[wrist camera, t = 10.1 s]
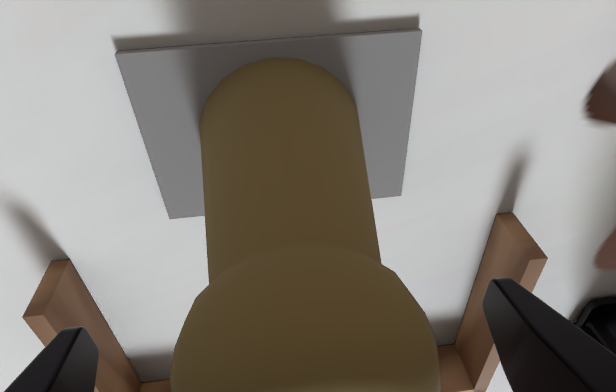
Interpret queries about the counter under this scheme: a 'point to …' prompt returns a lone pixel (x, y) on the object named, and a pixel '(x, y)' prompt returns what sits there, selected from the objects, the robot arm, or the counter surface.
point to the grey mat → (231, 56)
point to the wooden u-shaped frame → (452, 358)
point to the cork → (295, 249)
